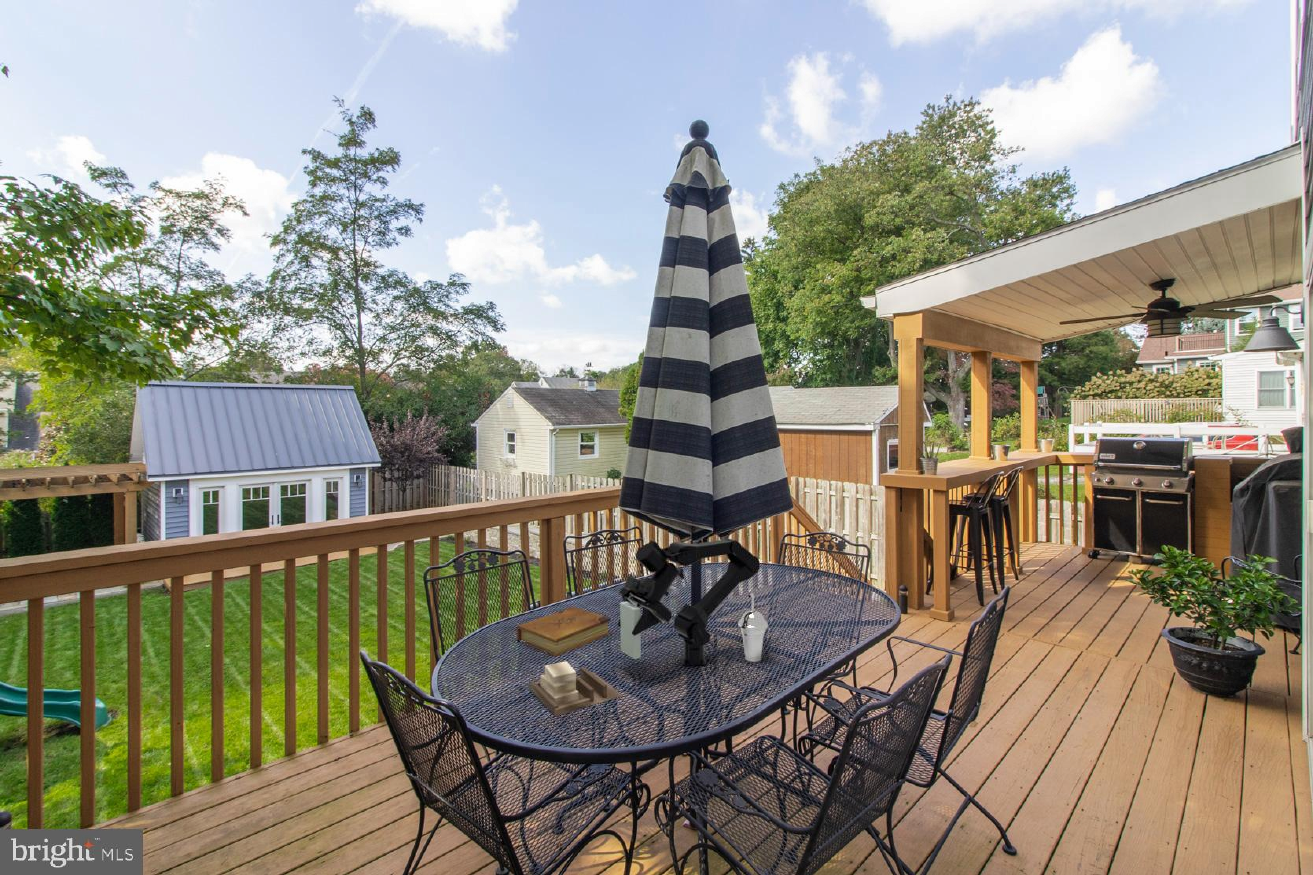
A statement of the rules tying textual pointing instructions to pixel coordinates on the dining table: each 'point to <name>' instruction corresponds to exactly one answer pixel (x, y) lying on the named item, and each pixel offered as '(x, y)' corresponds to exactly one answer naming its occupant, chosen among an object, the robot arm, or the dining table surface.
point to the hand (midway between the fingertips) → (625, 630)
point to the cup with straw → (752, 632)
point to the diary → (564, 630)
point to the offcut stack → (560, 683)
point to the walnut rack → (579, 693)
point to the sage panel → (630, 630)
